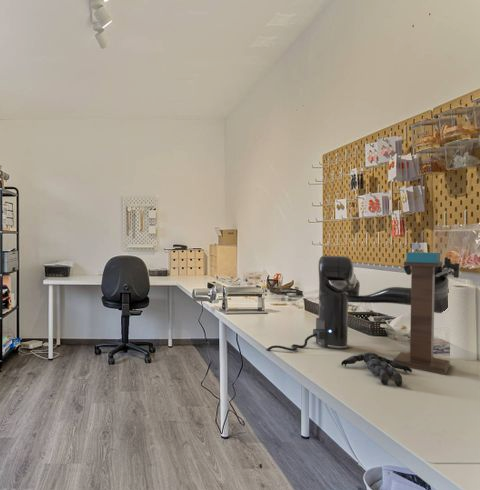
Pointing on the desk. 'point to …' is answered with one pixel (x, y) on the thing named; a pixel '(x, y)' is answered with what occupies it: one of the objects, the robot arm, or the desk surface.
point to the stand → (422, 321)
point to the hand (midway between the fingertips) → (428, 259)
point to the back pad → (423, 257)
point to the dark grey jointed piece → (380, 366)
